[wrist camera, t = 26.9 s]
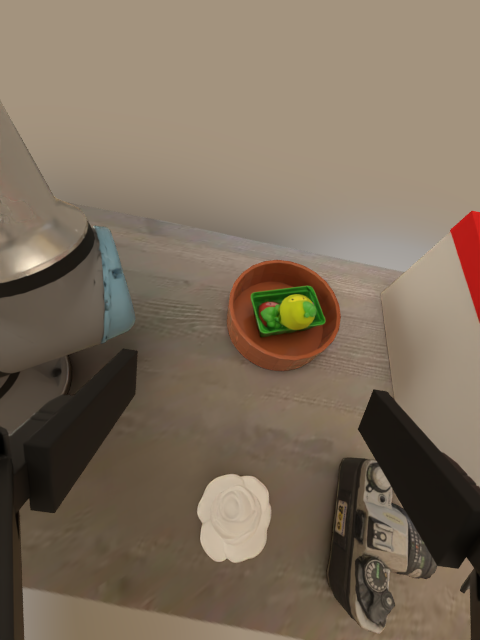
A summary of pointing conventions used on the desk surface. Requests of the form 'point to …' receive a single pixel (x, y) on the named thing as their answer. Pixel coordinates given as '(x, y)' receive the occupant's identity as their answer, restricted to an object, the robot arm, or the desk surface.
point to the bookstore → (440, 343)
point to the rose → (234, 518)
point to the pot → (285, 347)
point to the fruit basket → (286, 310)
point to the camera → (371, 544)
